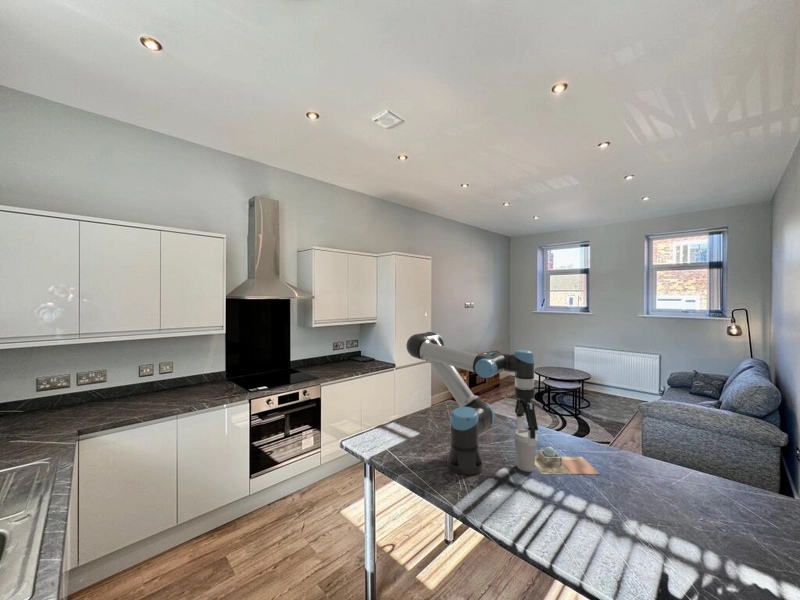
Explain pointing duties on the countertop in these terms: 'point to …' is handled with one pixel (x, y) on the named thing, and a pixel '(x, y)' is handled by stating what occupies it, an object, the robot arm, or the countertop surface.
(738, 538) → the countertop surface
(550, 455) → the dome
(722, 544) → the countertop surface
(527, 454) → the coffee cup
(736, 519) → the countertop surface
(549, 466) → the board
